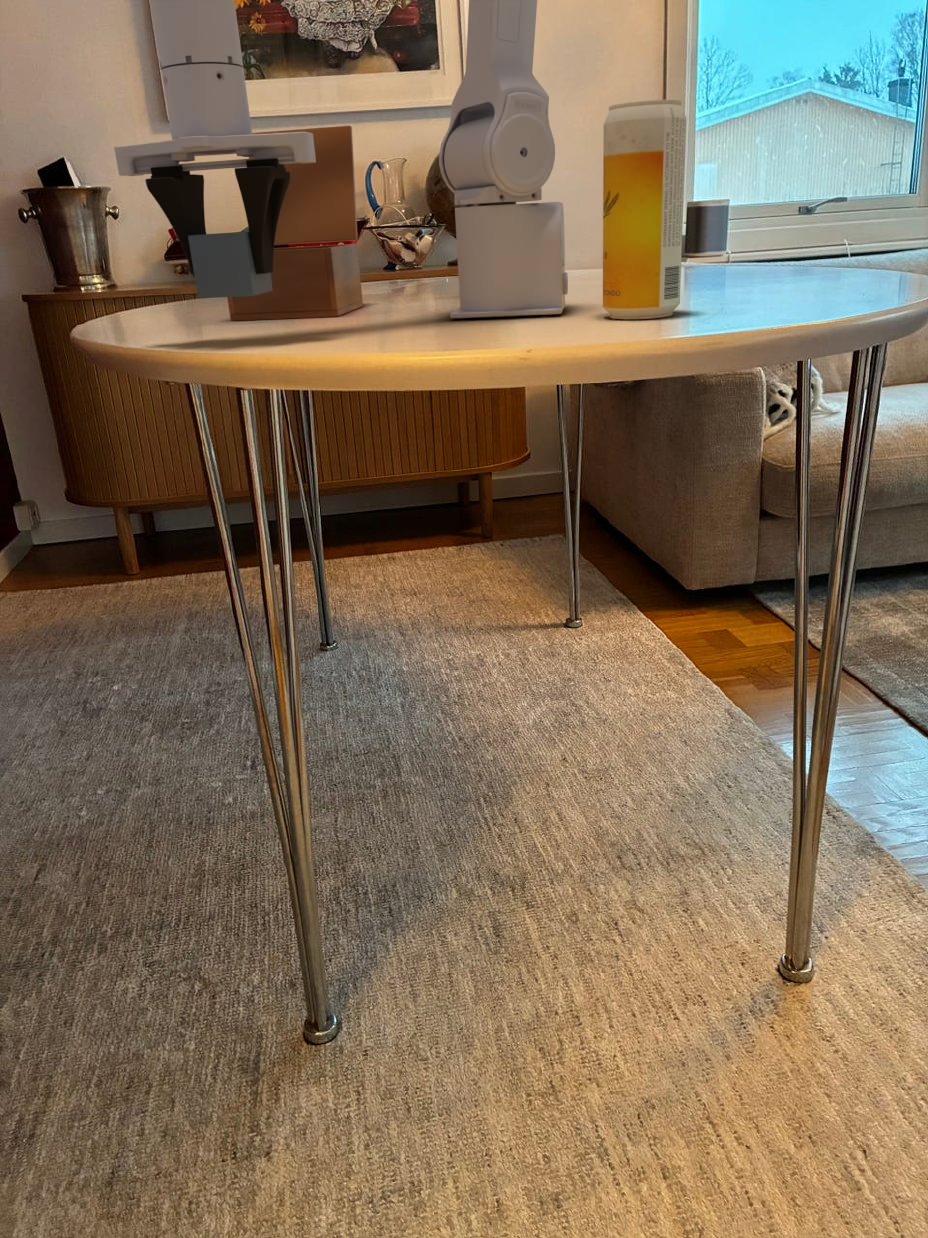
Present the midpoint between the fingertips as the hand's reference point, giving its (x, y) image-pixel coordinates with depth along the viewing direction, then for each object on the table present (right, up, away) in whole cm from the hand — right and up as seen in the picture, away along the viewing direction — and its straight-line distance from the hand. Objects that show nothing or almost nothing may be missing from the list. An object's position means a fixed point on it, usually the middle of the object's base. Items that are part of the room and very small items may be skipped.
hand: (232, 274), depth 71 cm
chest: (+1, +5, +23) cm, 23 cm away
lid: (+1, +18, +23) cm, 29 cm away
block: (0, -1, +1) cm, 1 cm away
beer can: (+32, -2, +4) cm, 32 cm away
